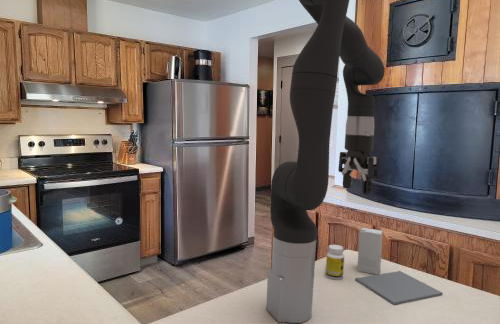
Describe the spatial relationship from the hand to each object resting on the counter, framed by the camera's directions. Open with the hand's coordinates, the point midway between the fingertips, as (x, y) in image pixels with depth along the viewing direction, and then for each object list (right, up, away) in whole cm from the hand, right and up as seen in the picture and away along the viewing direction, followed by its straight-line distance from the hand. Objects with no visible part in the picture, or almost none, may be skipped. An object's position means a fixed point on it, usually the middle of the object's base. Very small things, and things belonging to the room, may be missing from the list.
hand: (356, 191), depth 101 cm
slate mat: (+9, -25, -7) cm, 27 cm away
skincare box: (+5, -24, +3) cm, 24 cm away
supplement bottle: (-7, -24, -1) cm, 25 cm away
